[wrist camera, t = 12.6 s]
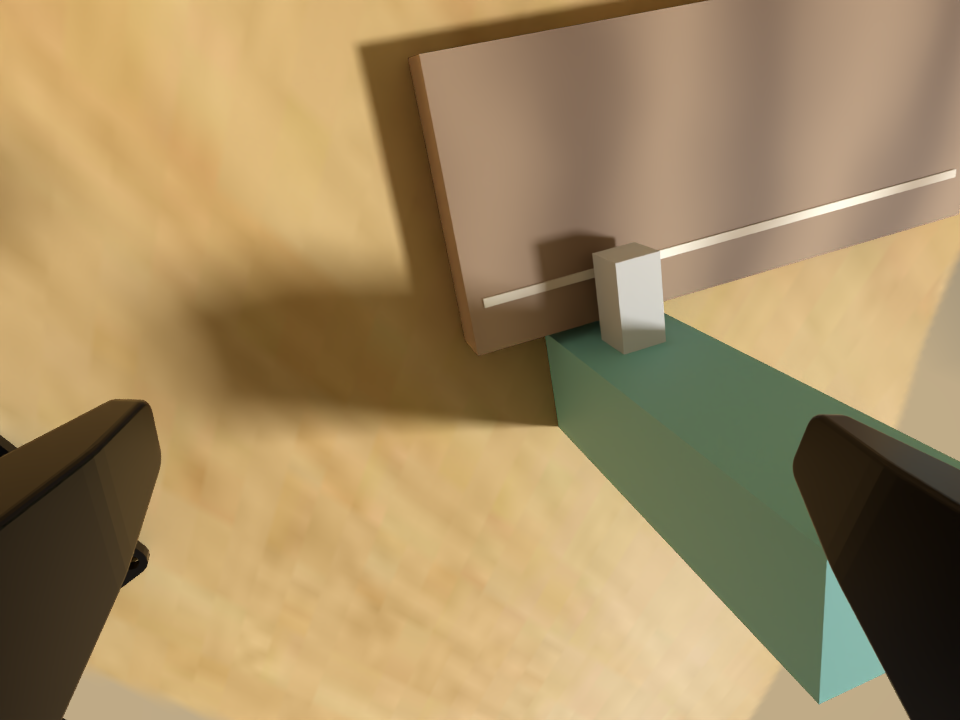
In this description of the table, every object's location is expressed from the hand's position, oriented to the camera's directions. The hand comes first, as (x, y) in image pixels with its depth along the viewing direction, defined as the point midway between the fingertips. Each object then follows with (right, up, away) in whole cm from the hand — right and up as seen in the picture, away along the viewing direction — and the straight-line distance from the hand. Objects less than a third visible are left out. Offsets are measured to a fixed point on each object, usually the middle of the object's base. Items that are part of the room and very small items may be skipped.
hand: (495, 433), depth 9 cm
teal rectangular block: (+4, +2, +15) cm, 16 cm away
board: (+8, +8, +14) cm, 18 cm away
